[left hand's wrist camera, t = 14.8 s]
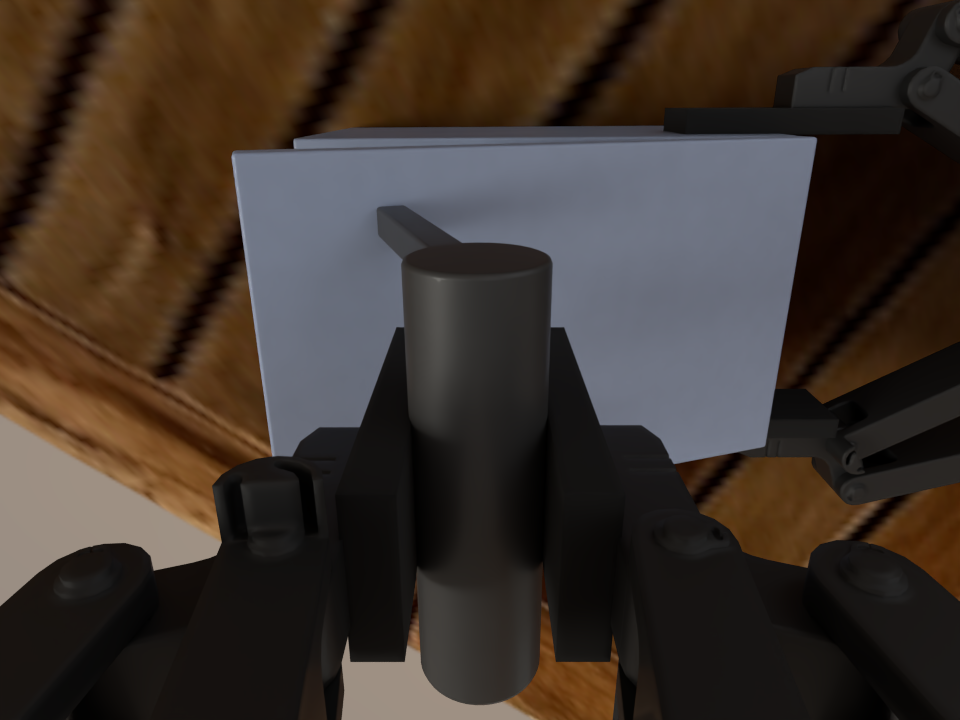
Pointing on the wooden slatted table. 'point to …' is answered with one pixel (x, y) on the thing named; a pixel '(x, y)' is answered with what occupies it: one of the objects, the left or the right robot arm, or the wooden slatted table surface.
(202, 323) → the wooden slatted table surface
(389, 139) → the chest
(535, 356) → the lid
